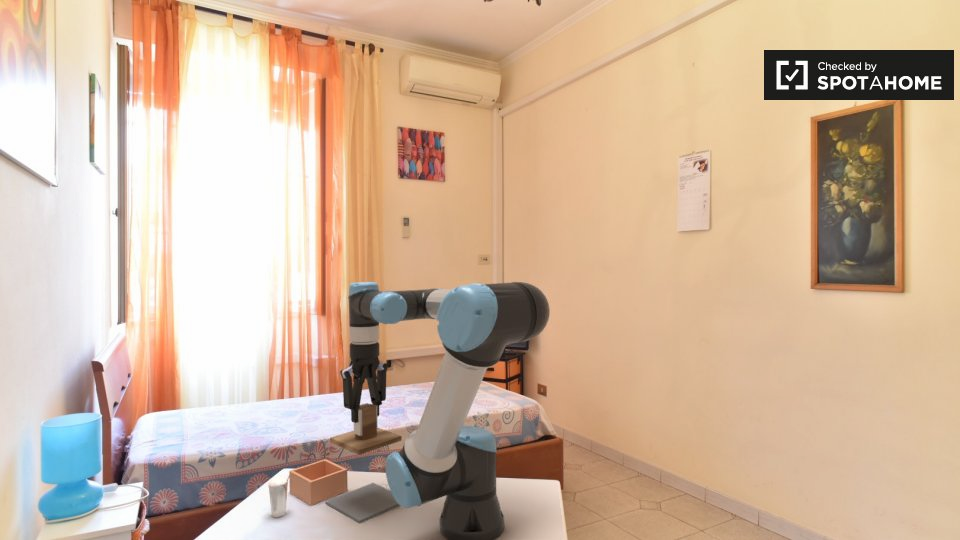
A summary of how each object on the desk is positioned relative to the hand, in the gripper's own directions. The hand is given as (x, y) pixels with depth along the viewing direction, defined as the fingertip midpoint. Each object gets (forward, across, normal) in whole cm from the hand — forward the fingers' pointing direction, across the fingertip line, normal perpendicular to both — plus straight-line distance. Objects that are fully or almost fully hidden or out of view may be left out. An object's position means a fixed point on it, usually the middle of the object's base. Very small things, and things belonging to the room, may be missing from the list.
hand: (365, 431), depth 135 cm
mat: (+19, 0, 0) cm, 19 cm away
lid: (+3, 0, 0) cm, 3 cm away
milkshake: (+19, +18, -11) cm, 28 cm away
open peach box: (+19, +5, -15) cm, 24 cm away
